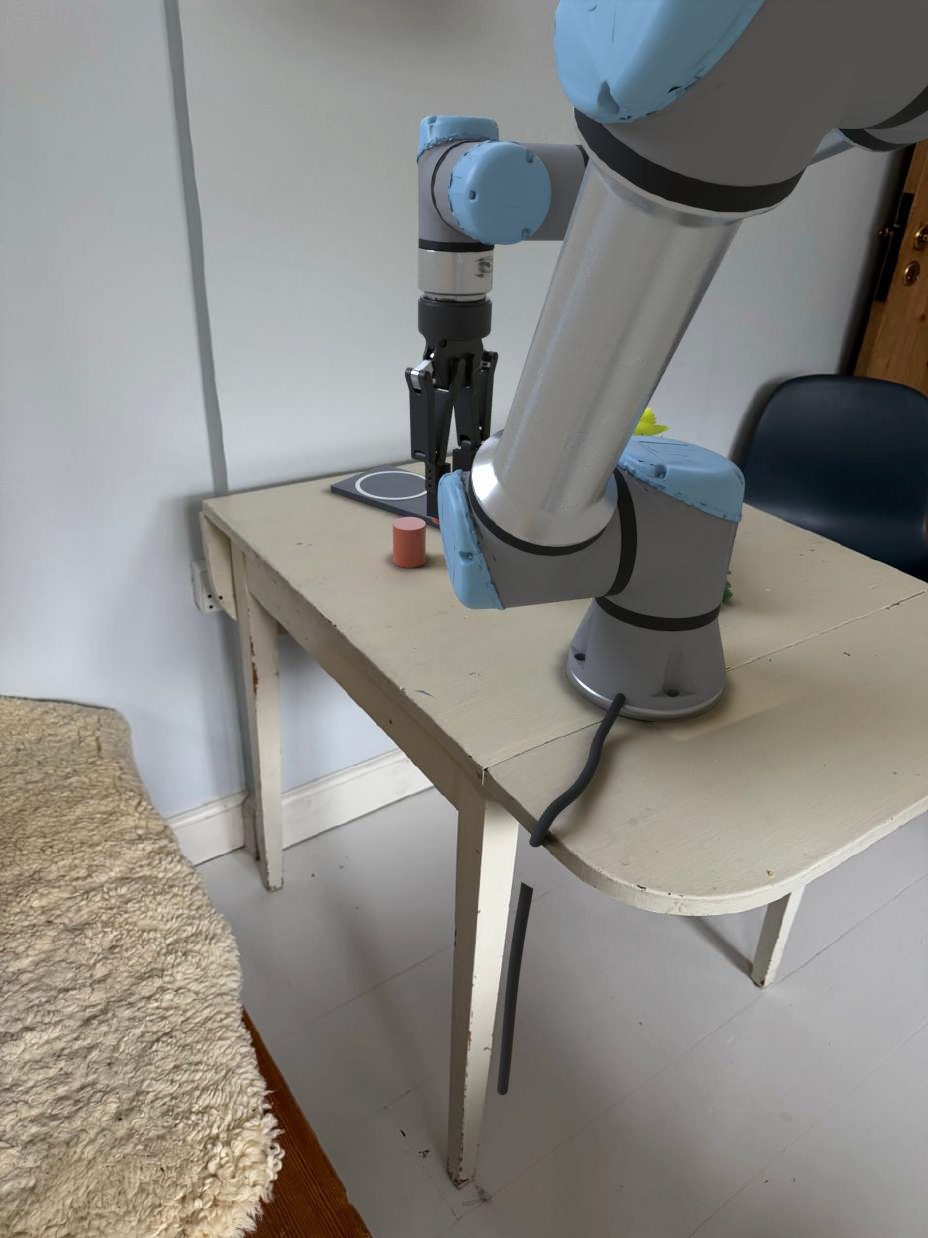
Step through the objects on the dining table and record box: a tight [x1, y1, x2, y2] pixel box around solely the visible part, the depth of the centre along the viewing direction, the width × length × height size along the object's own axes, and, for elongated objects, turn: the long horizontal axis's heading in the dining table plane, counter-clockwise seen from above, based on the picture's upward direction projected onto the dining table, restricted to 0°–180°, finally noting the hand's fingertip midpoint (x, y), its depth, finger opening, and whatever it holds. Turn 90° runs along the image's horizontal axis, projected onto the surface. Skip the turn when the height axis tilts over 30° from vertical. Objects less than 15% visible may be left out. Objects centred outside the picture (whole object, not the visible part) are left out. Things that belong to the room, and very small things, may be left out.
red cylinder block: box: [392, 516, 427, 569], centre depth 102 cm, size 4×4×5 cm
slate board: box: [330, 463, 440, 529], centre depth 120 cm, size 12×24×1 cm, turn 54°
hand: (450, 510), depth 96 cm, fingers closed on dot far, 4 cm apart
